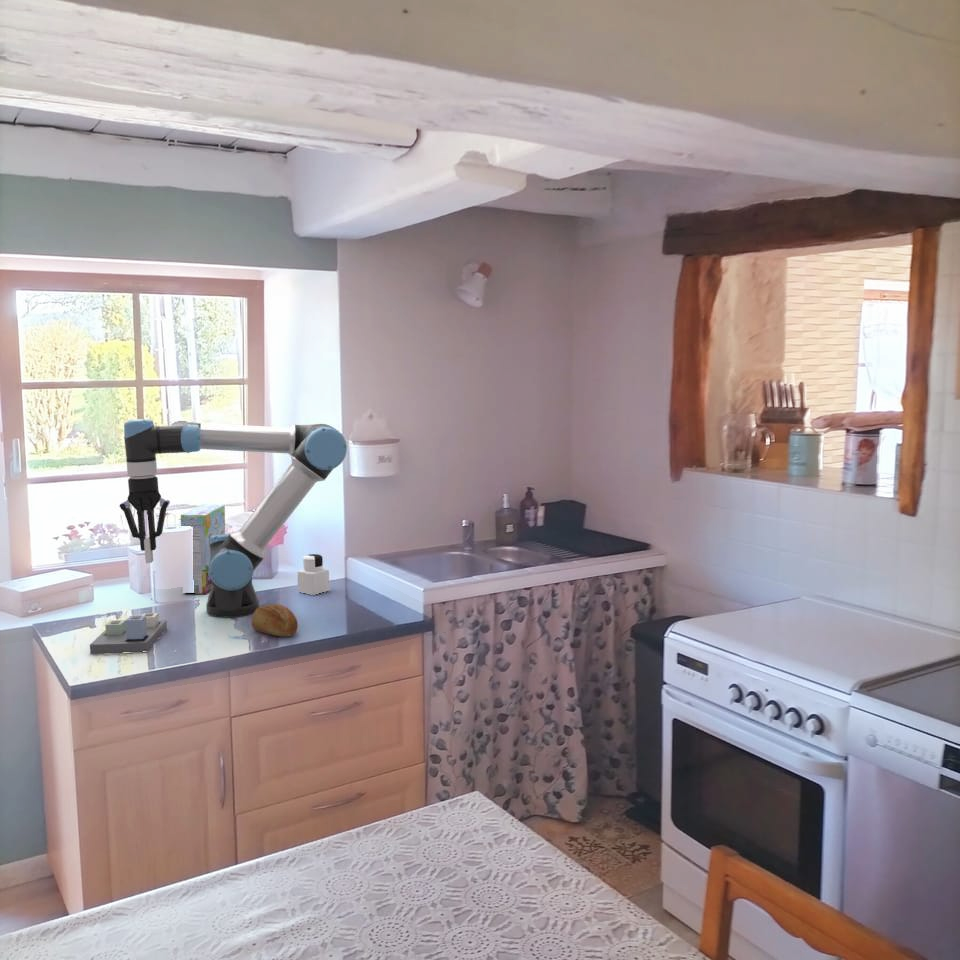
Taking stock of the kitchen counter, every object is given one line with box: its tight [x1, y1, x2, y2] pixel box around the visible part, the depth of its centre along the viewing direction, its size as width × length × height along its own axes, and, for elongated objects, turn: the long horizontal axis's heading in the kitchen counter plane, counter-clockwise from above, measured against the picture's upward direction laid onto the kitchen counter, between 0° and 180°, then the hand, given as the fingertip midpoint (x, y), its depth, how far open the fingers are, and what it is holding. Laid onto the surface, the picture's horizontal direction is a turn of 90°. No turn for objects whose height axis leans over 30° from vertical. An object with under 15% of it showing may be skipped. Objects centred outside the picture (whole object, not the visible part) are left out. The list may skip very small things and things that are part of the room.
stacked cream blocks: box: [297, 553, 330, 596], centre depth 288 cm, size 7×7×12 cm
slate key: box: [124, 615, 147, 639], centre depth 233 cm, size 4×4×5 cm
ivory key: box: [140, 612, 160, 628], centre depth 246 cm, size 4×4×5 cm
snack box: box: [180, 504, 226, 595], centre depth 295 cm, size 22×9×26 cm, turn 179°
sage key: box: [104, 619, 126, 635], centre depth 239 cm, size 4×4×5 cm
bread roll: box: [251, 603, 299, 637], centre depth 246 cm, size 10×15×8 cm, turn 55°
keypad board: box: [89, 619, 168, 655], centre depth 240 cm, size 14×20×2 cm
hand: (149, 561), depth 247 cm, fingers closed
